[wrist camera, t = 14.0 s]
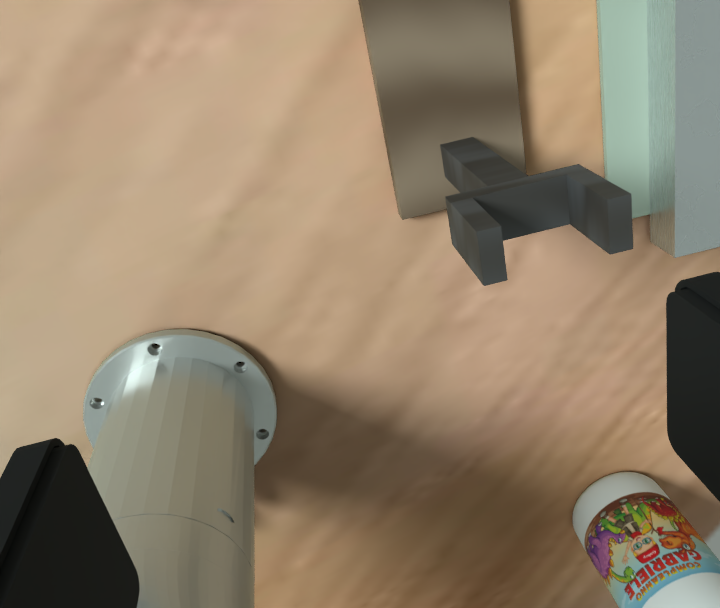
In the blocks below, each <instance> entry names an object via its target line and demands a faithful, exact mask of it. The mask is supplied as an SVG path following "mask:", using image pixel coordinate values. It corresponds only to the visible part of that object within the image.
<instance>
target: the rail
mask: <svg viewBox="0 0 720 608" xmlns="http://www.w3.org/2000/svg"><path fill="white" fill-rule="evenodd" d="M647 51H648V121H649V192H650V242H651V243H653V244H654V245H656V246H657V247H659V248H660V249H662V250H664V251H665V252H667V253H668V254H670V255H671V256H673V257H674V258H676V257H680V256H684V255H688V254H692V253H696V252H700V251H704V250H708V249H712V248H716V247H720V0H647Z"/></svg>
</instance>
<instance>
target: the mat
mask: <svg viewBox="0 0 720 608" xmlns="http://www.w3.org/2000/svg"><path fill="white" fill-rule="evenodd" d="M597 21H598V42H599V63H600V84H601V106H602V127H603V148H604V169H605V179H606V180H608V181H609V182H611V183H613V184H615V185H616V186H618V187H620V188H622V189H624V190H625V191H627V192H629V193H631V196H632V218H636V217H640V216H644V215H648V214H650V192H649V121H648V51H647V0H597Z"/></svg>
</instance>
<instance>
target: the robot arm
mask: <svg viewBox="0 0 720 608" xmlns="http://www.w3.org/2000/svg"><path fill="white" fill-rule="evenodd" d="M666 318H667V431H668V437H669V440H670V443H671V445H672V447H673V449H674V451H675V452H676V453H677V455H678V456H679V457H680V458H681V459H682V460H683V461H684V462H685V464H686V465H687V466H688V467H689V468H690V469H691V470H692V471H693V472H694V474H695V475H696V476H697V477H698V478H699V479H700V480H701V481H702V483H703V484H704V485H705V486H706V487H707V488H708V489H709V490H710V491H711V493H712V494H713V495H714V496H715V497H716V498H717V499H718V500H719V501H720V273H719V272H713V273H709V274H705V275H701V276H697V277H693V278H689V279H685V280H681V281H680V282H679V283H678V284H677V286H676V288H675V292H671V293H670V294H669V295H668V297H667V303H666ZM153 343H156V344H159V346H155V345H154V344H153ZM238 362H244V363H238ZM99 398H100V399H99ZM83 421H84V425H85V430H86V435H87V437H88V439H89V441H90V443H91V445H92V447H93V452H92V455H91V458H90V461H89V464H88V467H86V465H85V463H84V460H83V458H82V456H81V454H80V452H79V451H78V449H77V447H75V446H74V445H72V444H69V445H64V443H63V442H62V441H61V440H60V439H57V438H54V439H50V440H46V441H42V442H38V443H34V444H31V445H27V446H23V447H19V448H17V449H16V450H15V451H14V453H13V454H12V456H11V458H10V460H9V462H8V464H7V466H6V468H5V470H4V472H3V474H2V476H1V478H0V608H254V582H255V574H254V466H255V465H256V464H257V462H258V461H259V460H260V459H261V458H262V456H263V455H264V454H265V453H266V451H267V449H268V447H269V445H270V443H271V441H272V439H273V436H274V432H275V428H276V422H277V406H276V396H275V393H274V390H273V386H272V383H271V381H270V379H269V377H268V376H267V374H266V372H265V370H264V369H263V367H262V366H261V365H260V364H259V363H258V362H257V361H256V359H255V358H254V357H253V356H252V355H251V354H249V353H248V352H247V351H245V350H244V349H243V348H241V347H240V346H239V345H237V344H235V343H233V342H231V341H229V340H227V339H225V338H223V337H220V336H217V335H214V334H211V333H208V332H204V331H196V330H189V329H173V330H163V331H158V332H153V333H148V334H145V335H143V336H140V337H138V338H135V339H133V340H130V341H129V342H127V343H125V344H124V345H122V346H121V347H119V348H117V349H116V350H115V351H114V352H112V353H111V354H110V355H109V356H108V357H107V358H106V359H105V360H104V361H103V362H102V364H101V365H100V366H99V368H98V369H97V371H96V372H95V374H94V375H93V378H92V380H91V382H90V385H89V387H88V389H87V392H86V396H85V399H84V405H83Z"/></svg>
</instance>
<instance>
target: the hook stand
mask: <svg viewBox="0 0 720 608" xmlns="http://www.w3.org/2000/svg"><path fill="white" fill-rule="evenodd" d="M359 5H360V11H361V16H362V21H363V27H364V32H365V37H366V42H367V48H368V53H369V58H370V64H371V69H372V74H373V80H374V85H375V90H376V95H377V101H378V106H379V111H380V117H381V122H382V127H383V133H384V138H385V143H386V148H387V154H388V159H389V164H390V170H391V175H392V180H393V186H394V191H395V196H396V201H397V207H398V212H399V215H400V217H401V218H402V220H404V219H408V218H412V217H416V216H420V215H424V214H428V213H432V212H437V211H441V210H445V209H447V213H448V219H449V226H450V232H451V239H452V245H453V246H454V247H455V248H456V250H457V251H458V252H459V254H460V255H461V256H462V258H463V259H464V260H465V262H466V263H467V264H468V266H469V267H470V268H471V270H472V271H473V272H474V273H475V275H476V276H477V277H478V279H479V280H480V281H481V283H482V284H483V285H484V286H486V285H490V284H494V283H498V282H502V281H506V280H507V272H506V264H505V256H504V247H503V241H504V240H508V239H512V238H516V237H520V236H524V235H528V234H532V233H536V232H540V231H544V230H548V229H552V228H556V227H560V226H564V225H568V224H571V225H572V226H573V227H575V228H576V229H577V230H578V231H580V232H581V233H582V234H584V235H585V236H586V237H588V238H589V239H590V240H592V241H593V242H594V243H595V244H597V245H598V246H599V247H601V248H602V249H603V250H605V251H606V252H607V253H609V254H614V253H618V252H622V251H626V250H630V249H633V230H632V196H631V193H629V192H627V191H625V190H624V189H622V188H620V187H618V186H616V185H615V184H613V183H611V182H609V181H608V180H606V179H604V178H602V177H600V176H599V175H597V174H595V173H593V172H592V171H590V170H588V169H586V168H584V167H583V166H581V165H579V164H577V165H573V166H569V167H565V168H560V169H556V170H552V171H548V172H544V173H540V174H536V175H532V176H528V175H526V165H525V155H524V145H523V135H522V124H521V114H520V104H519V94H518V84H517V74H516V64H515V54H514V44H513V34H512V24H511V14H510V3H509V0H359Z"/></svg>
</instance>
